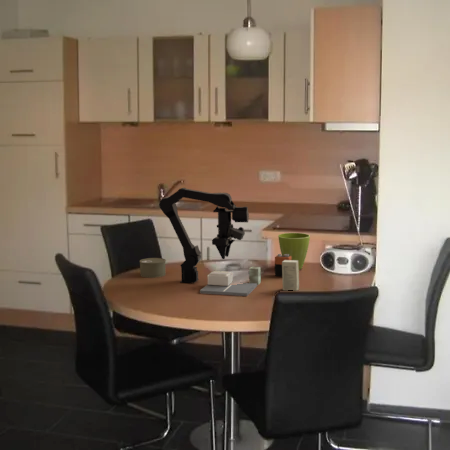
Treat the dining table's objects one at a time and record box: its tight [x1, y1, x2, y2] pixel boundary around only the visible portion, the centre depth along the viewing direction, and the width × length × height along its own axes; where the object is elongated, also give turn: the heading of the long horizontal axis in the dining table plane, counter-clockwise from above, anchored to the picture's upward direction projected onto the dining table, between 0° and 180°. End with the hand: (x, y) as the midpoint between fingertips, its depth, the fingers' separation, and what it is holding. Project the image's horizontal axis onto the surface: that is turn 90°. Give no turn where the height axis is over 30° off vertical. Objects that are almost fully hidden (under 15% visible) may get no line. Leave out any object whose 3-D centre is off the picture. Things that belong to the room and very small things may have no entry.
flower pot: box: [277, 232, 311, 271], centre depth 318 cm, size 15×15×16 cm
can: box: [139, 257, 167, 279], centre depth 310 cm, size 12×12×7 cm
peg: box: [248, 266, 262, 286], centre depth 290 cm, size 4×4×7 cm
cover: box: [207, 270, 234, 286], centre depth 285 cm, size 9×7×5 cm
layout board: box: [199, 282, 258, 297], centre depth 280 cm, size 20×17×1 cm
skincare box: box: [281, 260, 300, 292], centre depth 278 cm, size 6×4×12 cm
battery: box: [274, 253, 292, 278], centre depth 303 cm, size 4×7×10 cm, turn 68°
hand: (225, 257), depth 292 cm, fingers open, 5 cm apart
